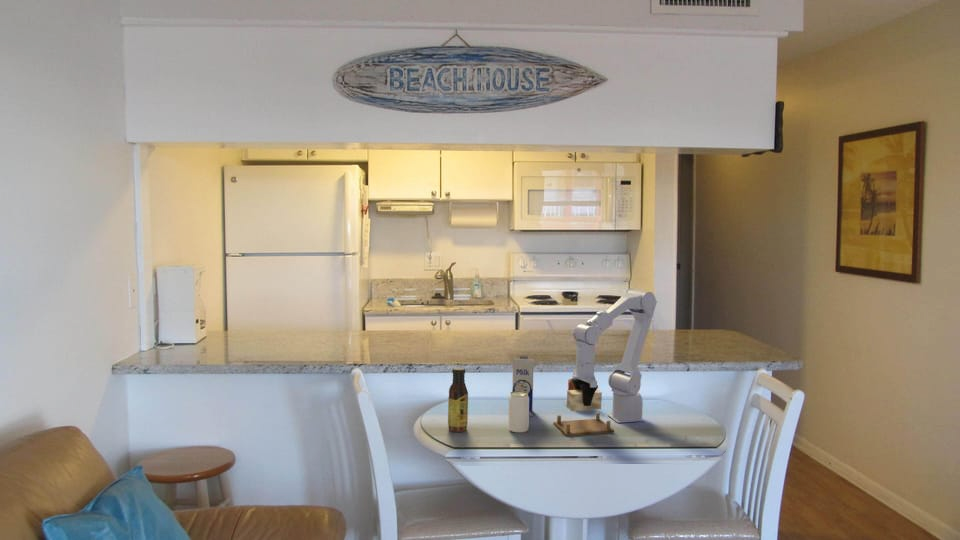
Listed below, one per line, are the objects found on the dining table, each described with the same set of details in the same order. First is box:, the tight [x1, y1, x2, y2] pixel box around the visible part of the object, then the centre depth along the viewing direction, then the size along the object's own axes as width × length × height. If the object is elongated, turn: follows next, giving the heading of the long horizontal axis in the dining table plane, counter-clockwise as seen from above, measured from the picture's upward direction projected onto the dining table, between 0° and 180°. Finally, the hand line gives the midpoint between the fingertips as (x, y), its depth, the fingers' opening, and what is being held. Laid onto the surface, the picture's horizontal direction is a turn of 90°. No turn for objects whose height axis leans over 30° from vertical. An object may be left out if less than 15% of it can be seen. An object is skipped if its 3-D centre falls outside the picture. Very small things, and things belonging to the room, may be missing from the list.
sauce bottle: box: [447, 366, 469, 433], centre depth 197 cm, size 6×6×20 cm
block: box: [566, 389, 603, 412], centre depth 200 cm, size 10×4×6 cm, turn 103°
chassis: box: [552, 411, 615, 437], centre depth 200 cm, size 16×11×3 cm
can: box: [507, 391, 530, 434], centre depth 198 cm, size 6×6×12 cm
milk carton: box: [511, 355, 535, 418], centre depth 213 cm, size 7×7×20 cm
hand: (584, 403), depth 200 cm, fingers closed on block, 4 cm apart
